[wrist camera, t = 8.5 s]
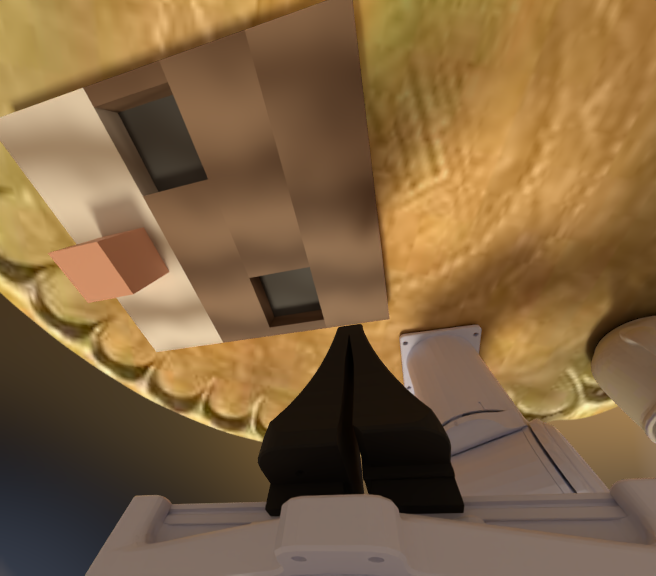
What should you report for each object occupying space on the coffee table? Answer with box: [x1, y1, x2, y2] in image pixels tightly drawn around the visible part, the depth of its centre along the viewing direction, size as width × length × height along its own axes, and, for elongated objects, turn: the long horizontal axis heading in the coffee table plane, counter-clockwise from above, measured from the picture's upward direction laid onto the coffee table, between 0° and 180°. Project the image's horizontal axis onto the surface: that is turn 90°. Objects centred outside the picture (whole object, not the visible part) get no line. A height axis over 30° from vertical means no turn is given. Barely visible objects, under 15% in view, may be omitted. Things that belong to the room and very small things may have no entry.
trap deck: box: [0, 0, 389, 352], centre depth 19 cm, size 21×25×2 cm
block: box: [48, 227, 169, 303], centre depth 18 cm, size 4×4×4 cm
